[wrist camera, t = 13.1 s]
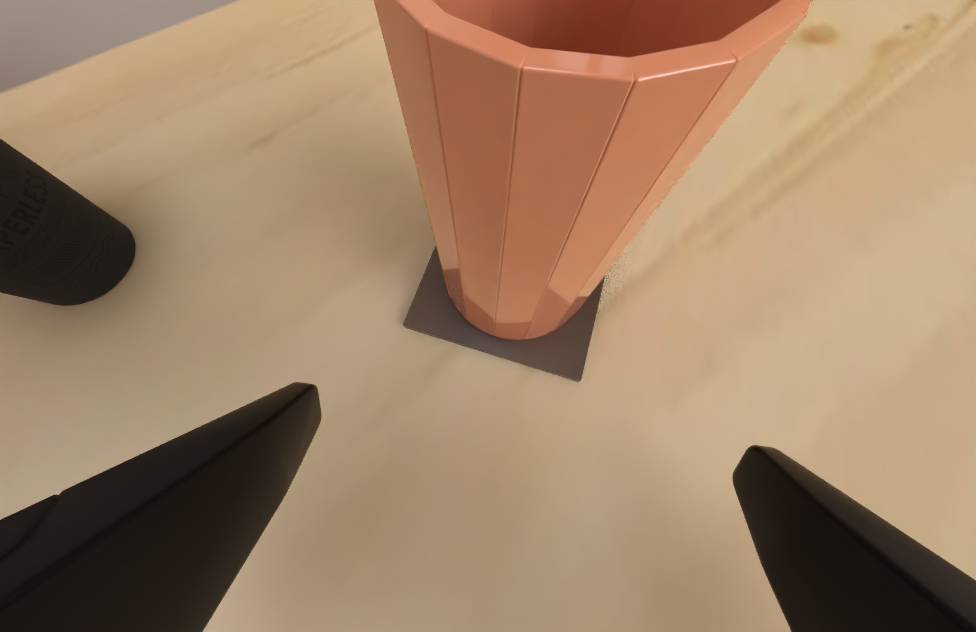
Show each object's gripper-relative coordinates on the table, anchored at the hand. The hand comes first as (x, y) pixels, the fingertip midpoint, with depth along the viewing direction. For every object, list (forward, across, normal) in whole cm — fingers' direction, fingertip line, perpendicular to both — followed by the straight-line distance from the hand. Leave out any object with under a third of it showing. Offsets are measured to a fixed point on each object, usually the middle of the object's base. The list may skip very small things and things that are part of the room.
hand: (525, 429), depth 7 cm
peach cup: (+11, 0, 0) cm, 11 cm away
